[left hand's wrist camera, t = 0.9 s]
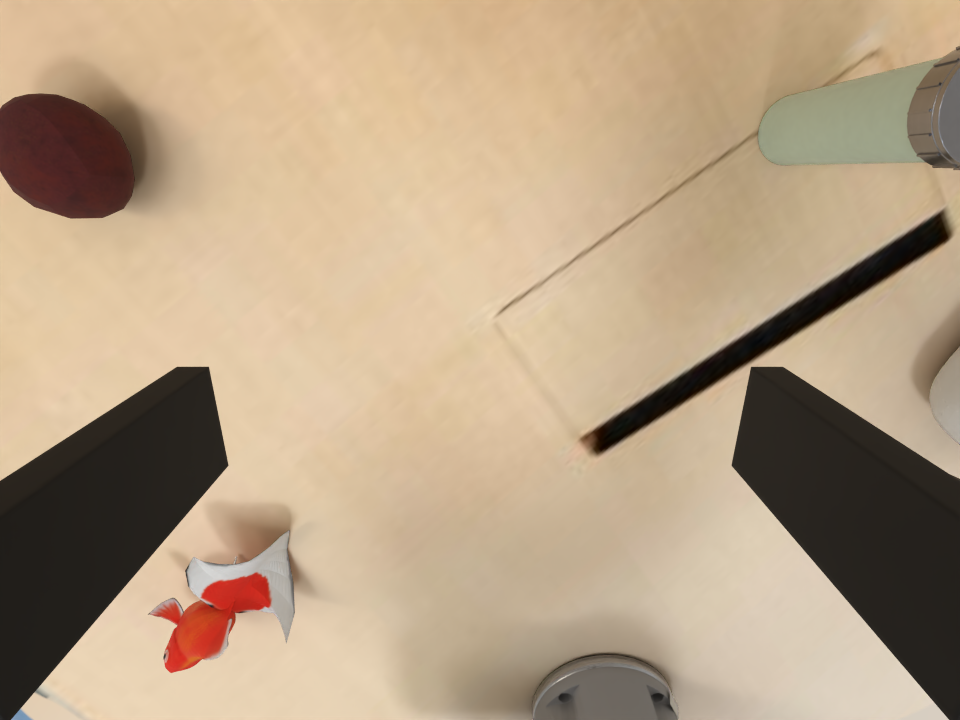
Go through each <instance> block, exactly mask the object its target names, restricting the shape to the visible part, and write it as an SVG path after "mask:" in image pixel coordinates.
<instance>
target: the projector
mask: <svg viewBox="0 0 960 720" xmlns="http://www.w3.org/2000/svg"><path fill="white" fill-rule="evenodd" d="M929 401H930V407H931V410H932V412H933V415H934V417H935V419H936V421H937V422H938V424H939V425H940V426H941V427H942V428H943V430H944V431H945V432H946V433H947V434H948V435H950V436H951V437H952V438H953V439H954V440H955V441H956V442H957V443H958V444H959V445H960V347H959V348H958V349H957V350H956V351H955V352H954V353H953V355H952V356H951V357H950V358H949V359H948V360H947V362H946V363H945V364H944V366H943V367H942V368H941V369H940V371H939V373H938V374H937V376H936V377H935V379H934V381H933V383H932V386H931V389H930V396H929Z"/></svg>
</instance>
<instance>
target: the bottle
mask: <svg viewBox="0 0 960 720" xmlns="http://www.w3.org/2000/svg"><path fill="white" fill-rule="evenodd" d="M941 59H942V58H939V59H935V60H931V61H927V62H923V63H919V64H915V65H911V66H907V67H903V68H898V69H894V70H890V71H886V72H882V73H878V74H874V75H870V76H866V77H862V78H858V79H854V80H850V81H846V82H842V83H838V84H834V85H829V86H825V87H821V88H817V89H813V90H809V91H805V92H801V93H797V94H793V95H789V96H786V97H784V98H782V99H780V100H778V101H777V102H776V103H774V104H773V105H772V106H771V107H770V108H769V109H768V111H767V112H766V113H765V115H764V117H763V119H762V121H761V123H760V126H759V131H758V143H759V147H760V150H761V152H762V153H763V155H764V156H765V157H766V158H767V159H768V160H769V161H771V162H773V163H775V164H778V165H819V164H867V163H915V162H925V161H923V160H922V159H921V158H920V157H917V156H916V155H917V154H916V153H915V151H914V150H913V148H912V146H911V144H910V141H909V138H908V137H907V136H908V133H907V117H908V115H907V113H908V111H909V107H910V103H911V100H912V98H913V96H914V93H915V91H916V88H917V86H919V84H920V82H921V81H922V79H923V78H924V77H925V75H926V74H927V73H928V72H929V70H930V69H931V68H932V67H933V65H934V64H935V63H937V62H939V61H940V60H941Z"/></svg>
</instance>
